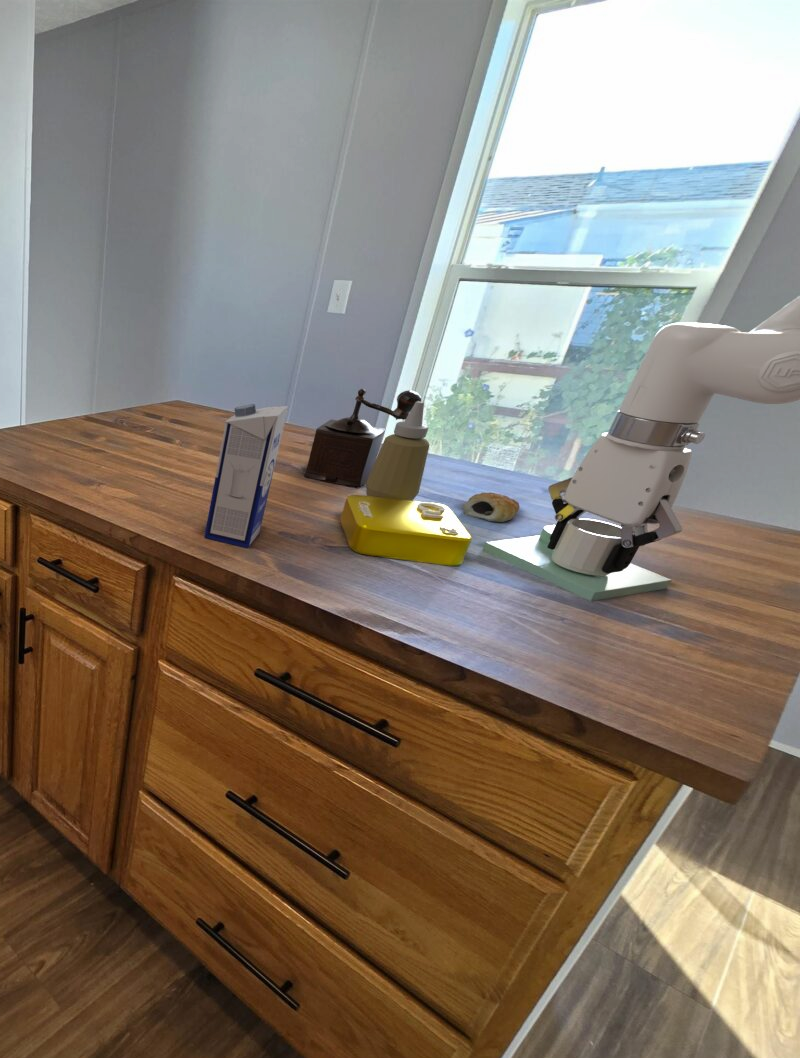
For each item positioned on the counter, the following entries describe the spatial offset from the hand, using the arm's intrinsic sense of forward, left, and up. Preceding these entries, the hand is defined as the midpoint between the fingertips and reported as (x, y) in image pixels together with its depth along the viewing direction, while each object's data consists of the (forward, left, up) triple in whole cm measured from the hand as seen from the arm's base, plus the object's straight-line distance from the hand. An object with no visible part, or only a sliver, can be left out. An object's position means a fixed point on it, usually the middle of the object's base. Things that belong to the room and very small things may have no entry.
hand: (583, 558), depth 90 cm
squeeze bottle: (+28, +6, -3) cm, 29 cm away
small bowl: (0, 0, -1) cm, 1 cm away
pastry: (+21, -9, -3) cm, 23 cm away
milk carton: (+24, +39, -3) cm, 46 cm away
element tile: (+16, +15, -3) cm, 22 cm away
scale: (+2, -2, -3) cm, 4 cm away
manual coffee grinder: (+42, +1, -3) cm, 42 cm away
